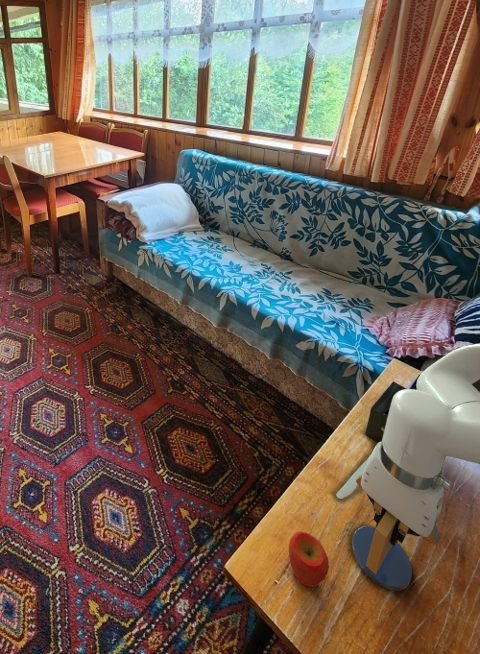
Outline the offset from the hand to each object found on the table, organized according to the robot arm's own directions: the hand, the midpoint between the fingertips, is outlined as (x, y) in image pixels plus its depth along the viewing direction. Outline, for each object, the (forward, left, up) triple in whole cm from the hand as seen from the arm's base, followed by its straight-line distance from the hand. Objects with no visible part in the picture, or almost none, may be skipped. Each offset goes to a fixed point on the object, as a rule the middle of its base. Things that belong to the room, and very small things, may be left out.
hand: (387, 531), depth 65 cm
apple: (+13, +7, -8) cm, 17 cm away
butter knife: (-2, -19, -8) cm, 21 cm away
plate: (0, 0, -8) cm, 8 cm away
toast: (0, 0, -5) cm, 5 cm away
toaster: (-9, -30, -8) cm, 32 cm away
